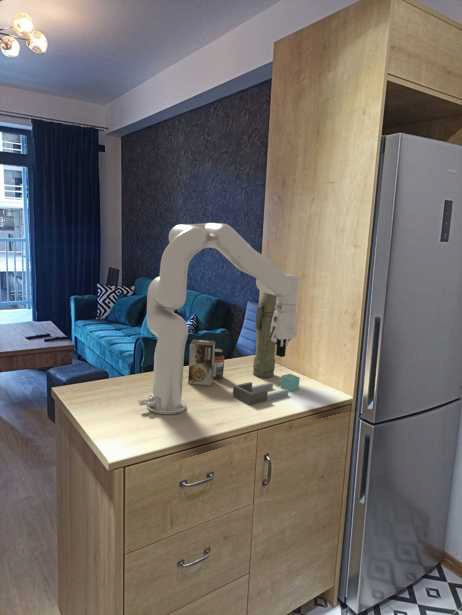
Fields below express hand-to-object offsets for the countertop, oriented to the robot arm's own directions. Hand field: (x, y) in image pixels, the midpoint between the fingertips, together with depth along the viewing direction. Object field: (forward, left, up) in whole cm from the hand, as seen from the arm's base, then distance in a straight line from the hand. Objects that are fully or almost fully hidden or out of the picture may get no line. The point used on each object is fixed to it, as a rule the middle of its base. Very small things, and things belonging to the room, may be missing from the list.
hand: (280, 355), depth 169 cm
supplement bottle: (-11, +24, -14) cm, 30 cm away
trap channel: (-8, 0, -14) cm, 16 cm away
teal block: (+7, 0, -14) cm, 16 cm away
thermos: (+9, +17, -14) cm, 24 cm away
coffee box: (-20, +22, -14) cm, 33 cm away
